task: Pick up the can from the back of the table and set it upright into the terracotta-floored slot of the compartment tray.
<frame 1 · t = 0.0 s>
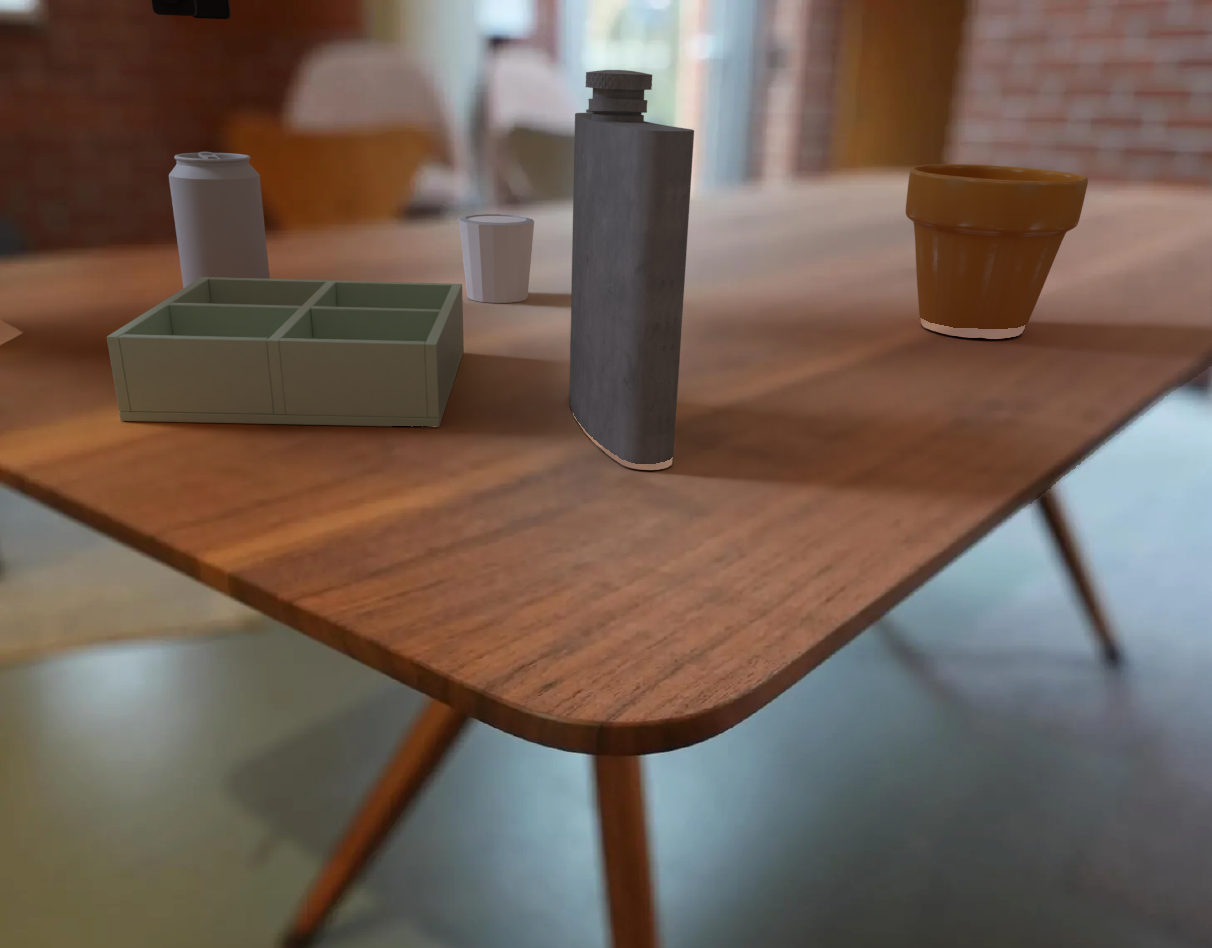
hand: (194, 16, 90), 22 cm above the table, tool pointing down, fingers open, 9 cm apart
compartment tray: (312, 382, 76), on the table
hip flask: (610, 431, 69), on the table
shot glass: (497, 299, 104), on the table
flower pot: (969, 331, 98), on the table
can: (228, 298, 101), on the table
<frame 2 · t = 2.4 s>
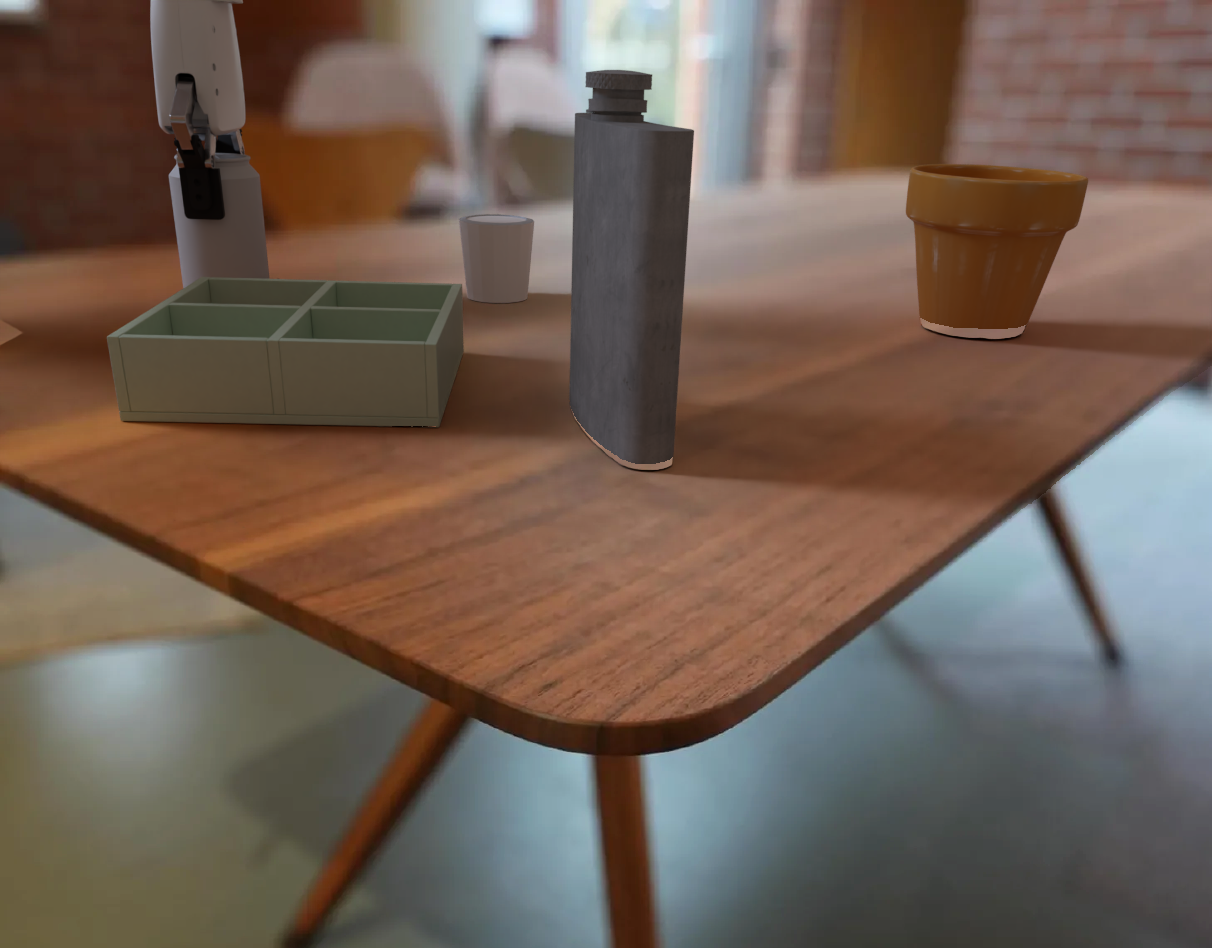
hand: (218, 211, 97), 7 cm above the table, tool pointing down, fingers closed on can, 7 cm apart
can: (228, 298, 100), on the table, touching gripper
everything else where it was.
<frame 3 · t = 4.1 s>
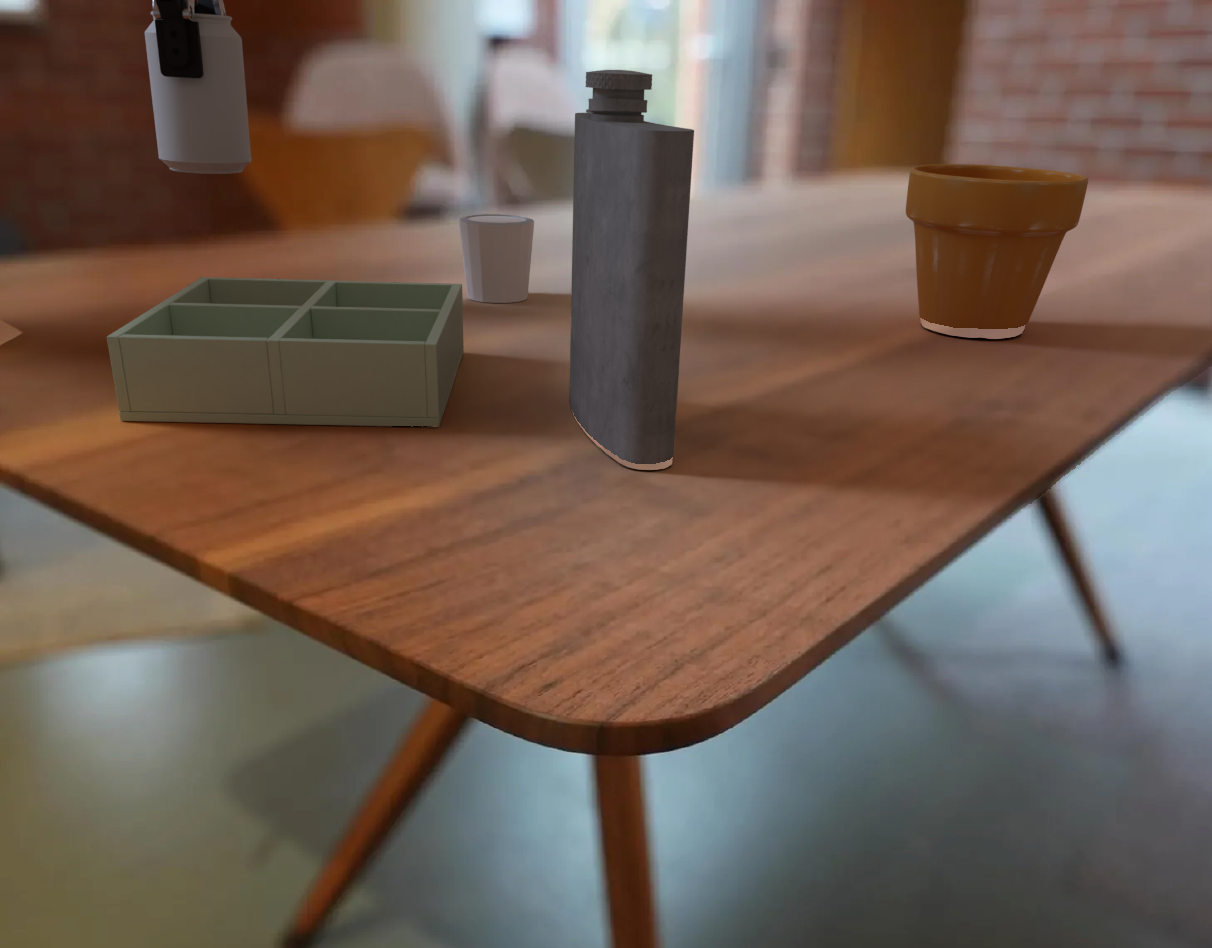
hand: (197, 75, 92), 18 cm above the table, tool pointing down, fingers closed on can, 7 cm apart
can: (207, 172, 95), point 11 cm above the table, touching gripper
everything else where it was.
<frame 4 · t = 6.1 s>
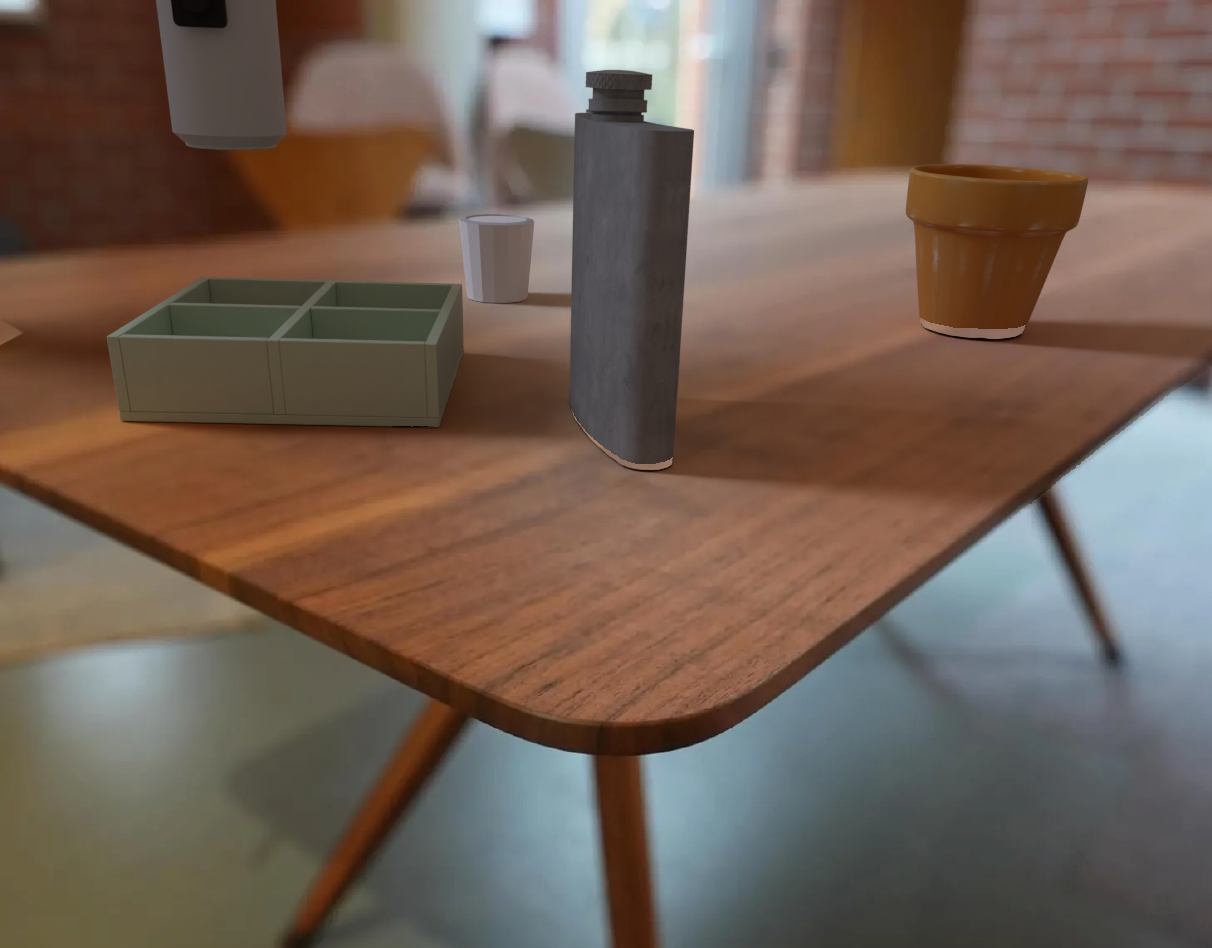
hand: (218, 26, 73), 22 cm above the table, tool pointing down, fingers closed on can, 7 cm apart
can: (232, 149, 77), point 14 cm above the table, touching gripper
everything else where it was.
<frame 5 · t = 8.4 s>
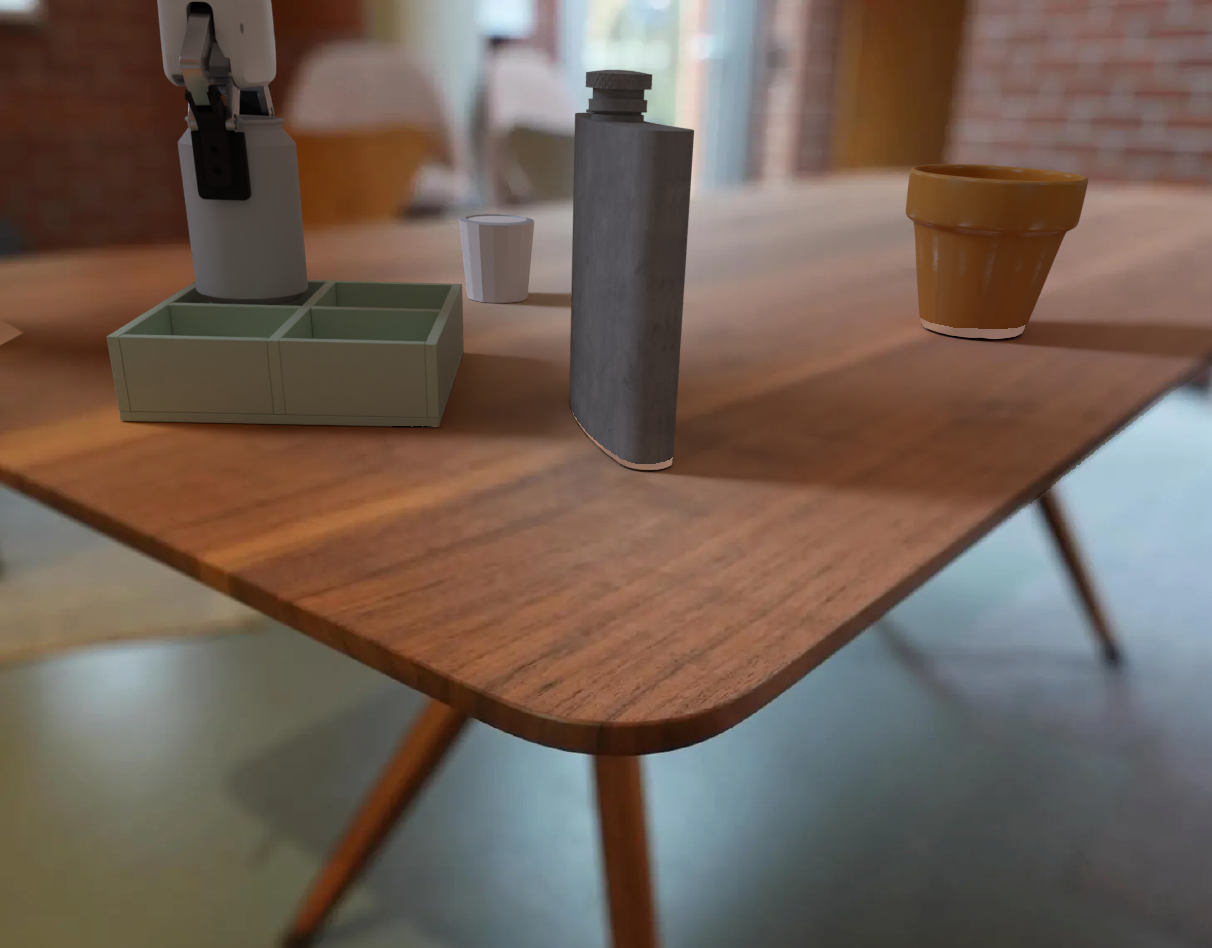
hand: (241, 190, 75), 12 cm above the table, tool pointing down, fingers closed on can, 7 cm apart
can: (254, 304, 78), point 4 cm above the table, touching gripper
everything else where it was.
when the fingers open (8 cm above the table, at t = 10.0 s): can stays where it is, resting on compartment tray.
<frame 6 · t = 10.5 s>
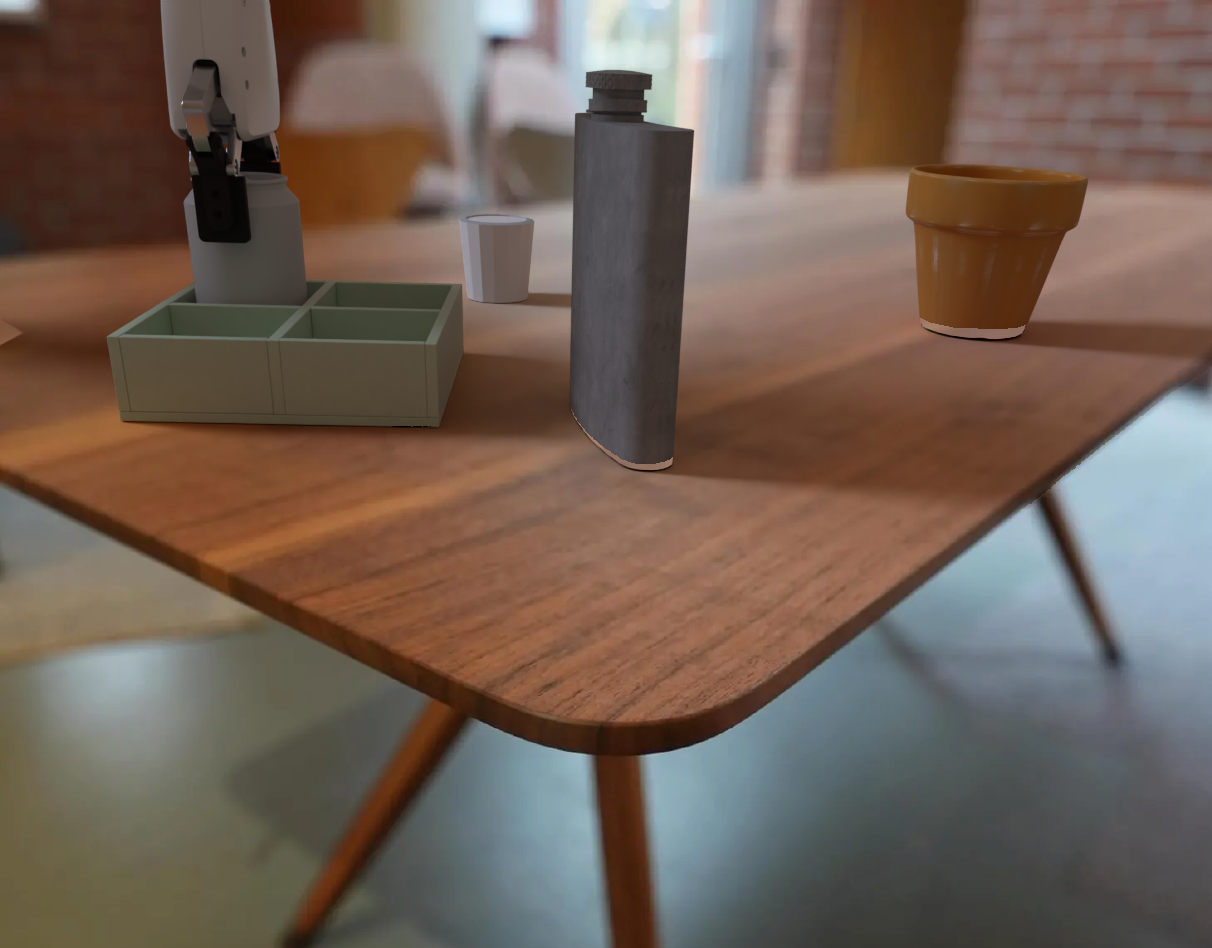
hand: (245, 230, 76), 9 cm above the table, tool pointing down, fingers open, 9 cm apart
can: (259, 355, 80), point 1 cm above the table, touching compartment tray
everything else where it was.
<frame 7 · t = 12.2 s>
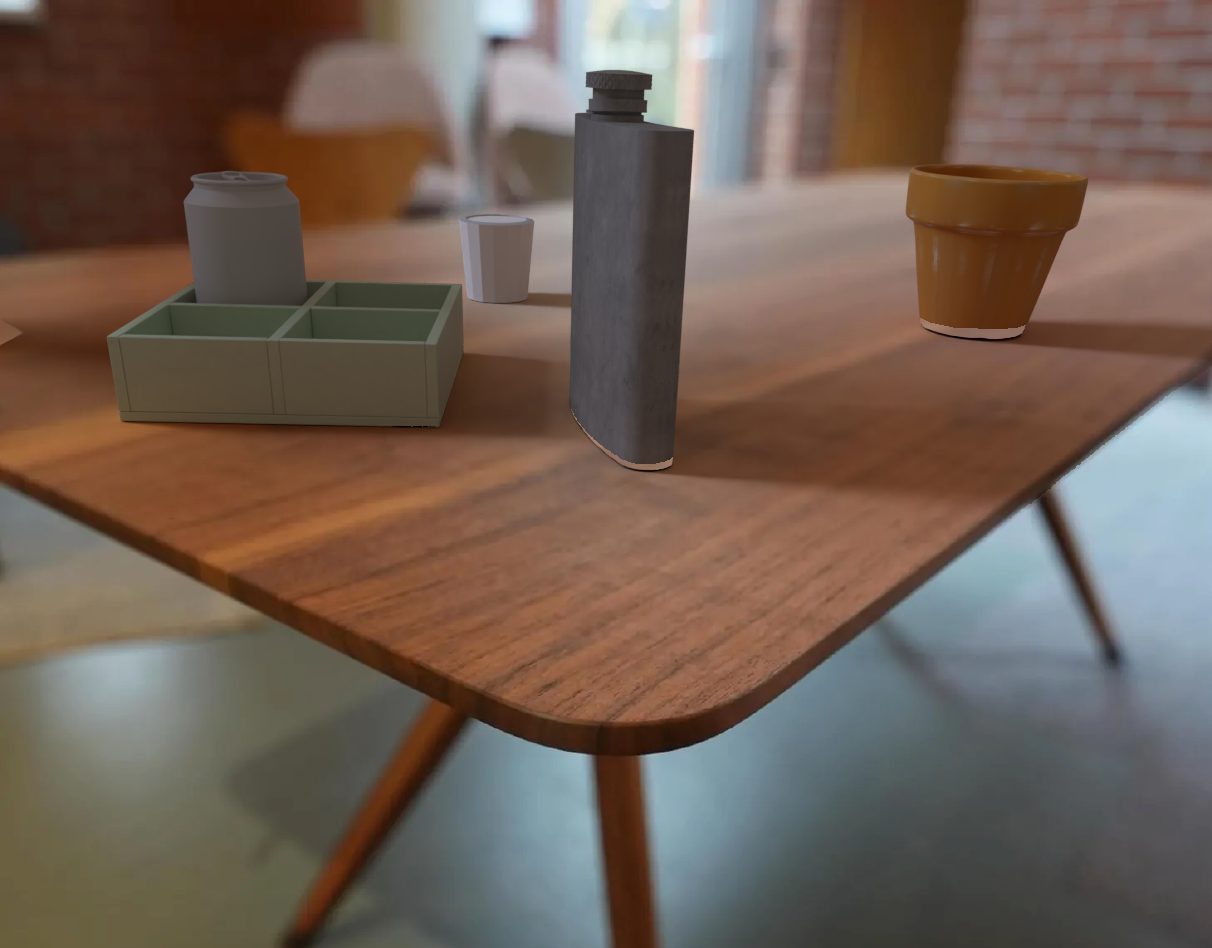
nothing on the table moved.
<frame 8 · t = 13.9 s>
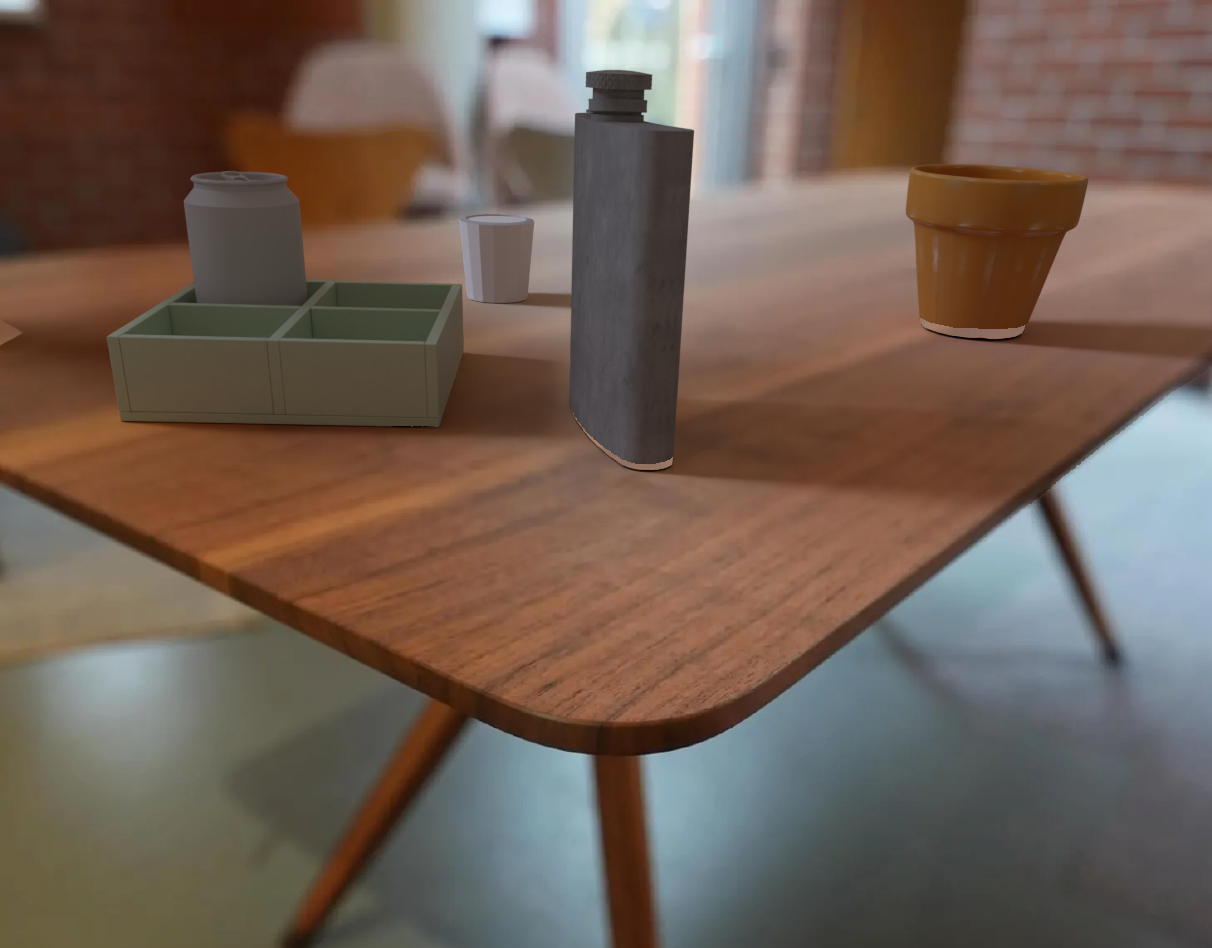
nothing on the table moved.
at the end: can 0.0 cm from the target spot in the compartment tray, point 0.6 cm above the compartment tray's base; can tilted 0° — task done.
